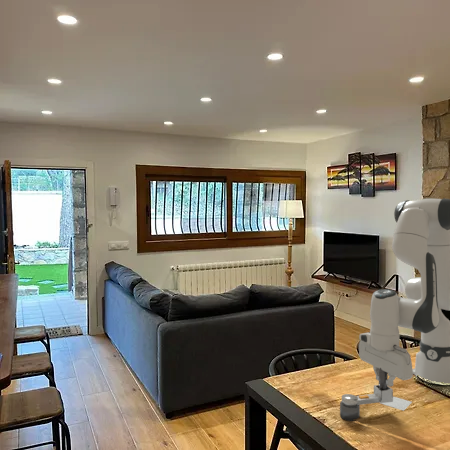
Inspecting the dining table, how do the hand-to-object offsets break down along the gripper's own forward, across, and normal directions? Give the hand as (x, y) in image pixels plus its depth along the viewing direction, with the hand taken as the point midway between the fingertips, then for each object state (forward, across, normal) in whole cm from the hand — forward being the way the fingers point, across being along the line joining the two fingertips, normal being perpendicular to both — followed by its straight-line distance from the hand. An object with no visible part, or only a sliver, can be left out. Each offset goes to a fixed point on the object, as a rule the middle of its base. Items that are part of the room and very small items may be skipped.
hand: (384, 382), depth 134 cm
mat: (+10, +3, -8) cm, 13 cm away
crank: (+6, +2, +6) cm, 9 cm away
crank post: (+10, +3, +12) cm, 16 cm away
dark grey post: (+4, +1, 0) cm, 4 cm away
